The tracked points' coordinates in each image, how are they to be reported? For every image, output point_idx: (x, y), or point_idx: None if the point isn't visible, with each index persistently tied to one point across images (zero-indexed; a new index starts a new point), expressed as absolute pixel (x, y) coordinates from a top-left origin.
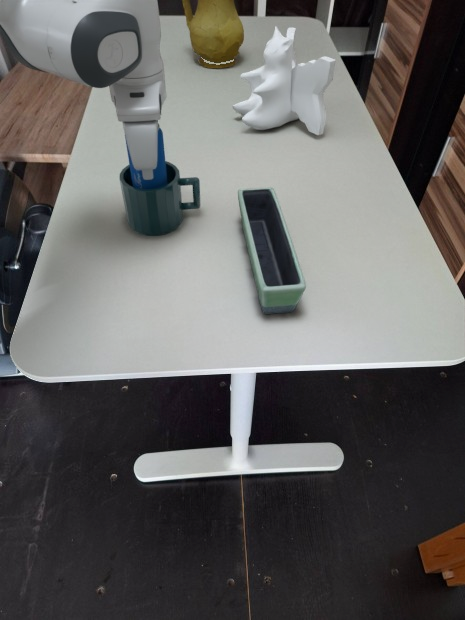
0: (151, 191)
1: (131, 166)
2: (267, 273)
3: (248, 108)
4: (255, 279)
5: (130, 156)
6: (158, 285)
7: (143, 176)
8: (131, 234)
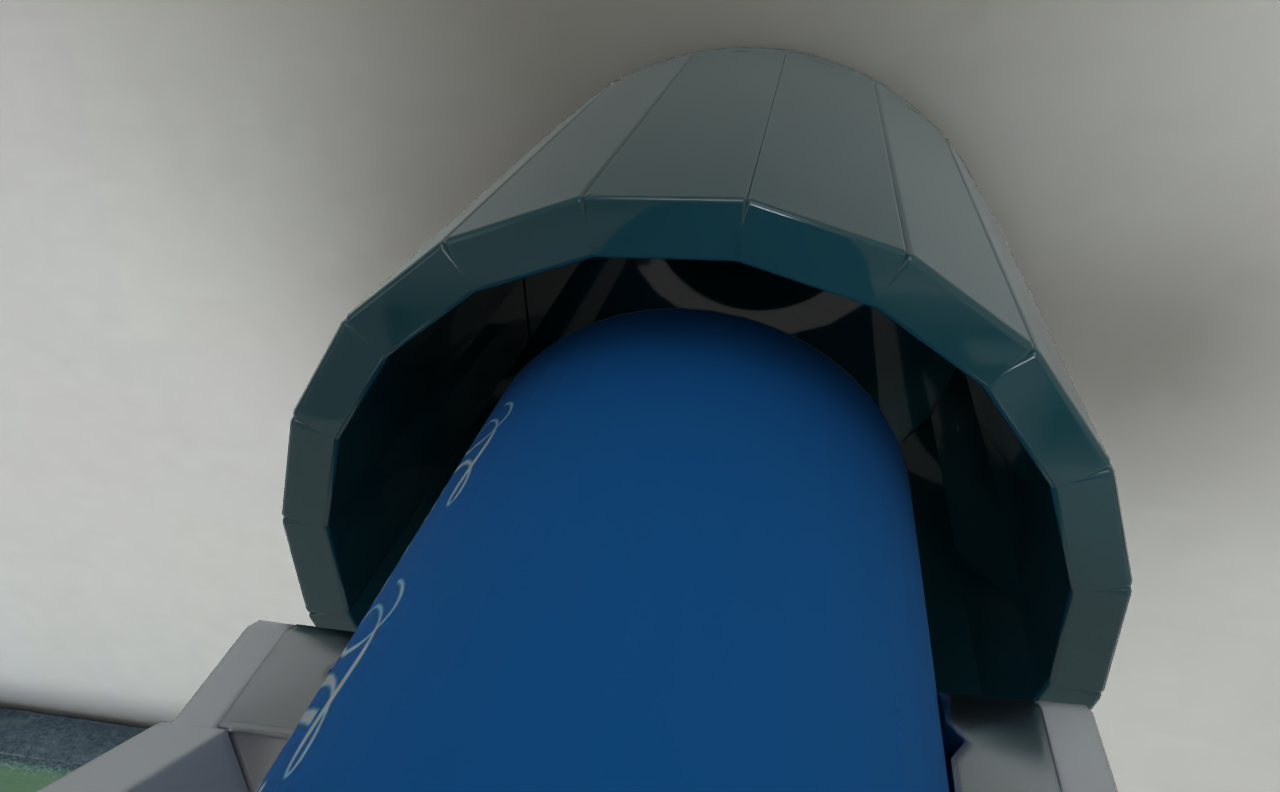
0: (301, 571)
1: (450, 548)
2: None
3: None
4: (37, 767)
5: (338, 722)
6: (2, 271)
7: (236, 650)
8: (530, 83)
